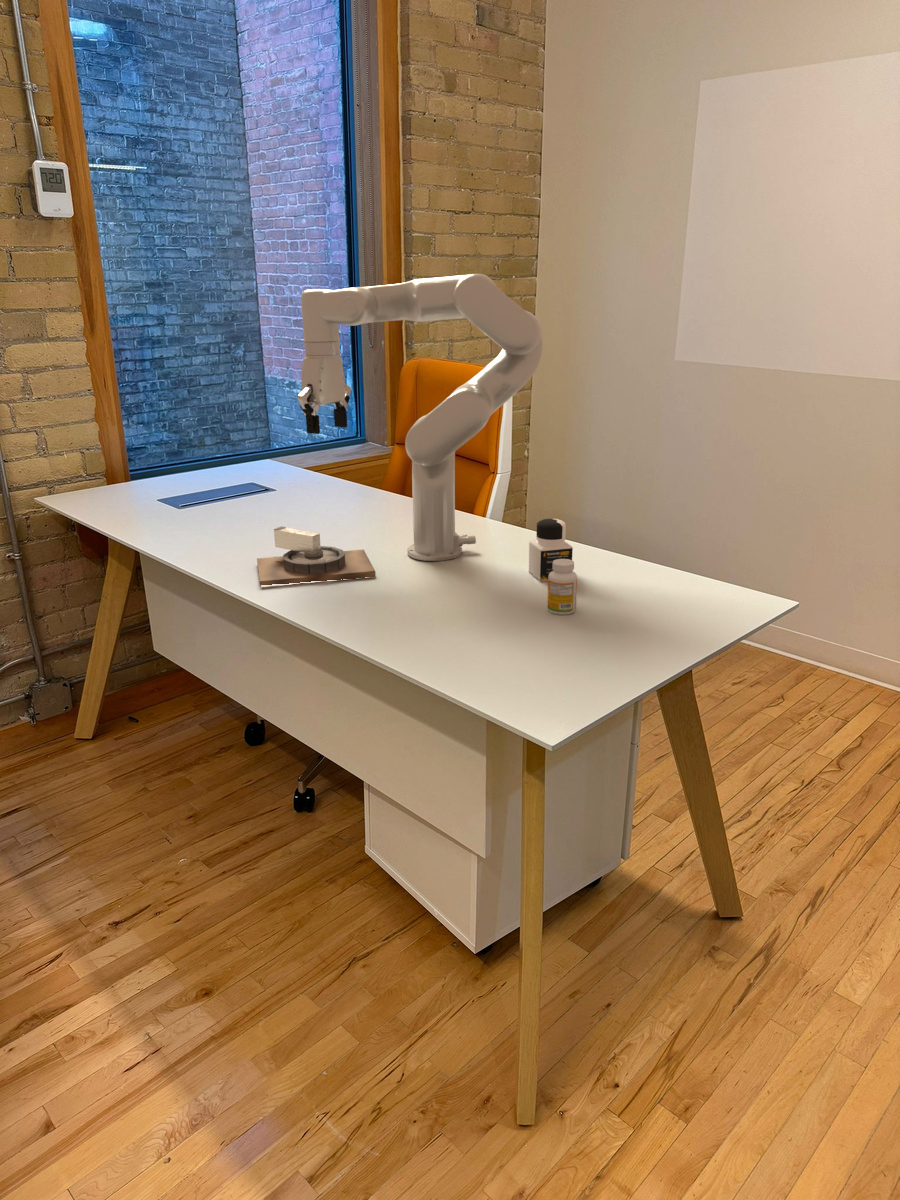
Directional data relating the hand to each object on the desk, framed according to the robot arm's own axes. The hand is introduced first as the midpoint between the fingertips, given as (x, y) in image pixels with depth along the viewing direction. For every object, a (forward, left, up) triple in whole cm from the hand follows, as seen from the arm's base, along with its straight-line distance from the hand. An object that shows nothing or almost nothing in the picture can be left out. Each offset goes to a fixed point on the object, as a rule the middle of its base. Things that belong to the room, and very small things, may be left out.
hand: (327, 430), depth 191 cm
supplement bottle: (-37, +50, -28) cm, 68 cm away
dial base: (+6, +13, -28) cm, 32 cm away
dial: (+8, +11, -27) cm, 30 cm away
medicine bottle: (-42, +30, -28) cm, 59 cm away
